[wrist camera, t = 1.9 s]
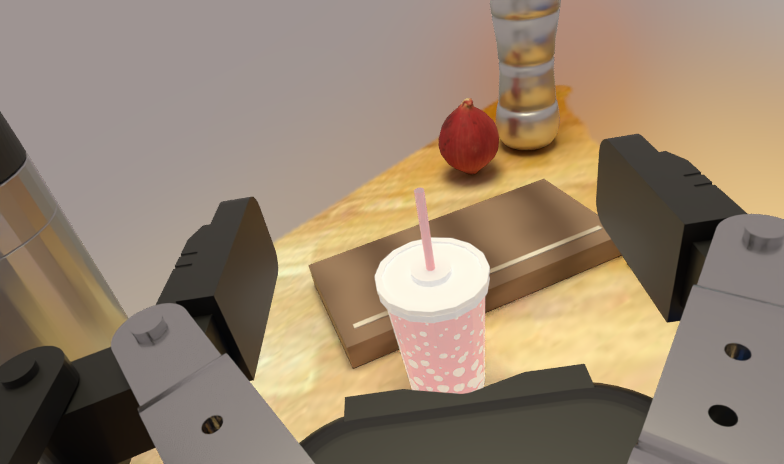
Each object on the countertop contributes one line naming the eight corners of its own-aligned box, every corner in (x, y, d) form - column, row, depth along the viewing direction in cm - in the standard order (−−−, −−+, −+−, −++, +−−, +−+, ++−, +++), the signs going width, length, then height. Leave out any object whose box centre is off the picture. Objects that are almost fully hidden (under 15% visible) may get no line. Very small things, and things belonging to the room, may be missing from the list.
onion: (440, 189, 52) (430, 113, 47) (445, 161, 57) (437, 90, 52) (500, 186, 51) (496, 108, 46) (500, 158, 55) (497, 84, 51)
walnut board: (392, 454, 29) (386, 432, 28) (314, 284, 43) (308, 264, 42) (717, 301, 35) (724, 276, 34) (557, 192, 48) (558, 172, 47)
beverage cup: (516, 400, 31) (508, 200, 23) (420, 439, 30) (377, 243, 22) (470, 332, 36) (451, 148, 28) (386, 364, 35) (342, 181, 27)
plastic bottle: (520, 164, 54) (515, -56, 42) (485, 141, 59) (472, -59, 48) (572, 145, 55) (581, -73, 44) (533, 124, 60) (532, -74, 49)
